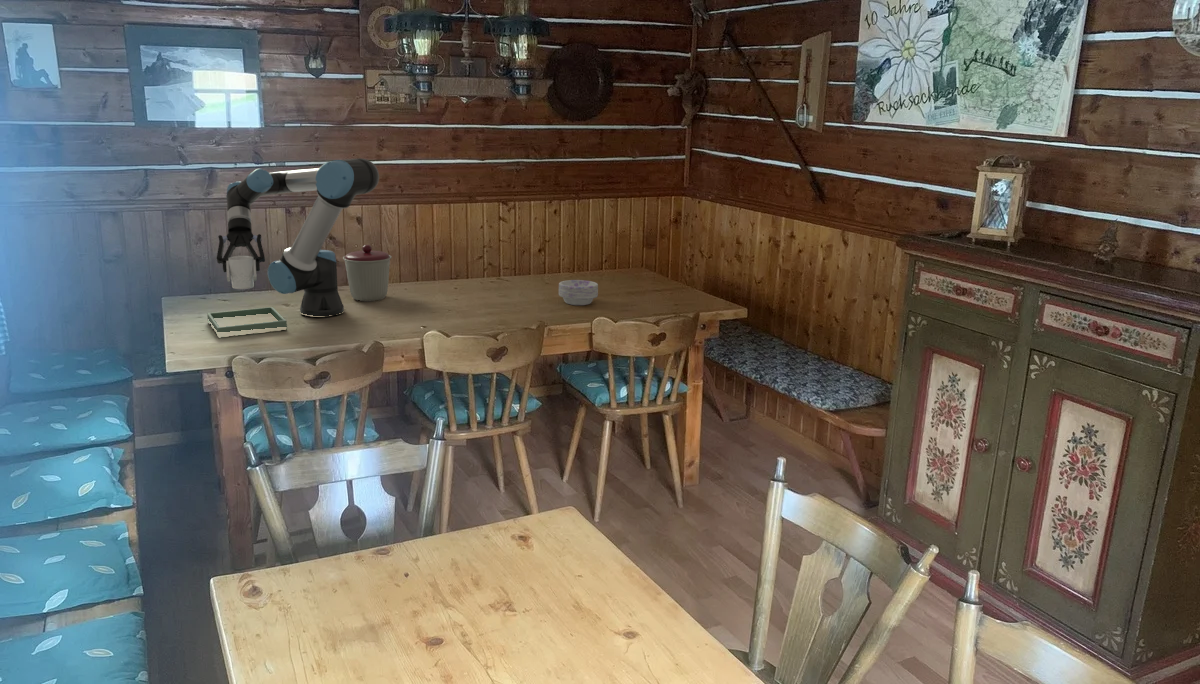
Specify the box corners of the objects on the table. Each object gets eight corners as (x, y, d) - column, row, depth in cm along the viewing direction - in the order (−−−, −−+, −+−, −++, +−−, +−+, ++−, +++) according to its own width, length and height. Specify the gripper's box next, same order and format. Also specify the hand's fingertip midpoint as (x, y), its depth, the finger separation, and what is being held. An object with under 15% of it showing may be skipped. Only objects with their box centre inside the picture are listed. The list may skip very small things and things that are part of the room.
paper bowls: (592, 297, 365) (592, 278, 363) (602, 306, 351) (602, 286, 349) (554, 299, 361) (554, 279, 359) (563, 308, 347) (563, 287, 345)
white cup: (225, 287, 307) (222, 258, 304) (244, 283, 314) (241, 254, 311) (242, 290, 303) (239, 261, 301) (260, 286, 310) (258, 257, 307)
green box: (273, 316, 326) (272, 306, 325) (287, 330, 309) (286, 320, 308) (208, 323, 316) (207, 313, 315) (218, 338, 298) (217, 327, 297)
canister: (342, 304, 345) (338, 249, 340) (348, 293, 363) (345, 240, 357) (391, 304, 348) (388, 249, 342) (395, 293, 365) (393, 240, 359)
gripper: (271, 228, 321) (275, 283, 311) (208, 230, 314) (209, 286, 304) (270, 215, 315) (274, 271, 304) (205, 217, 308) (207, 273, 298)
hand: (241, 278), depth 304 cm, fingers closed on white cup, 8 cm apart
